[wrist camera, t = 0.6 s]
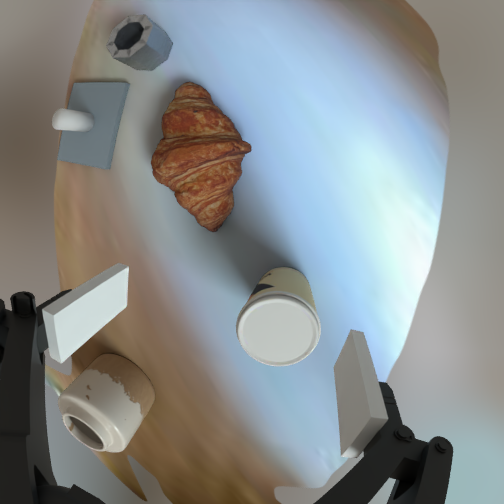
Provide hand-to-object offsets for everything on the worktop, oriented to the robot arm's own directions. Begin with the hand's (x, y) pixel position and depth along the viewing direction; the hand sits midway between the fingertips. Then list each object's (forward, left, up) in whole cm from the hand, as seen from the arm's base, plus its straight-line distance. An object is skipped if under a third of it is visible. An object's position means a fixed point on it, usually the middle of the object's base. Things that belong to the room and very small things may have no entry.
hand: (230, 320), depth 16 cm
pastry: (-8, -12, -26) cm, 30 cm away
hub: (-23, -25, -26) cm, 42 cm away
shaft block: (-10, -33, -26) cm, 43 cm away
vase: (+39, -21, -26) cm, 51 cm away
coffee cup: (+8, +4, -26) cm, 27 cm away
